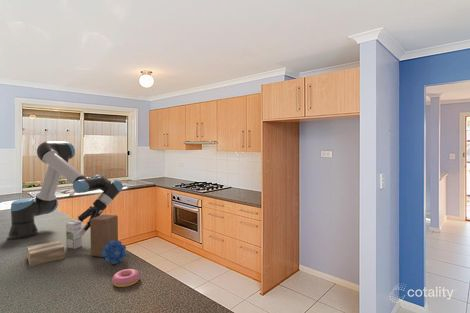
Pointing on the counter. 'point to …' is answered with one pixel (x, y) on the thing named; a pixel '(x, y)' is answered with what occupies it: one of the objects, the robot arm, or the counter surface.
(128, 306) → the counter surface
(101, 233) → the wooden block
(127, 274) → the doughnut
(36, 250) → the birch block
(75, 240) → the syrup box
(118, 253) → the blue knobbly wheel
